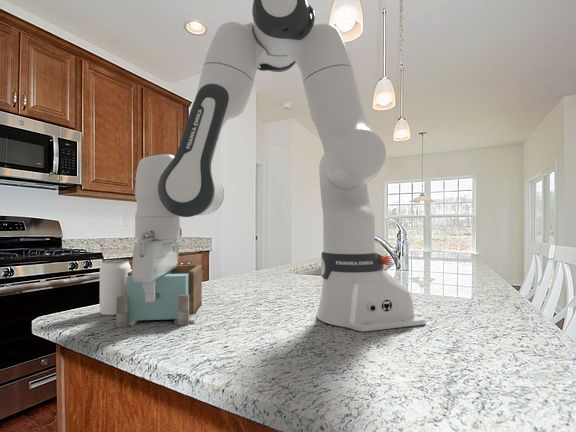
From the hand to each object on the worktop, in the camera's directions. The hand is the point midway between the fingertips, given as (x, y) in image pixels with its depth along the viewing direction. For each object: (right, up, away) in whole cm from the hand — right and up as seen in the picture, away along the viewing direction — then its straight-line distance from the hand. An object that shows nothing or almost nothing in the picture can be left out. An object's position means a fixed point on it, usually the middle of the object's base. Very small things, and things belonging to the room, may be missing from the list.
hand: (157, 296), depth 69 cm
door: (0, -5, 0) cm, 5 cm away
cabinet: (-1, -5, +5) cm, 7 cm away
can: (-13, -6, +7) cm, 16 cm away
